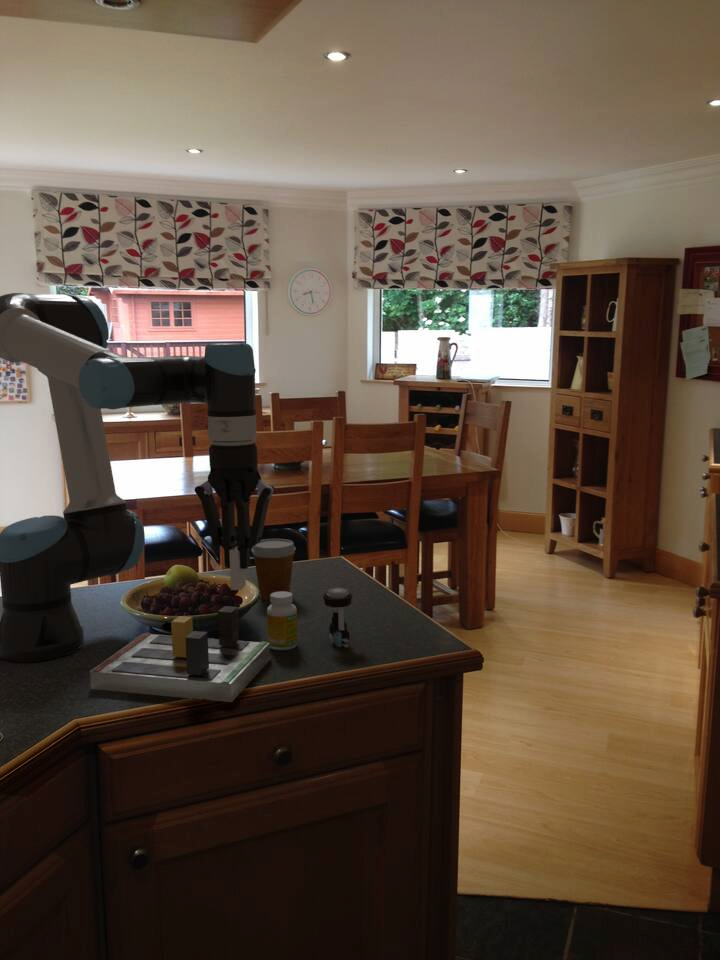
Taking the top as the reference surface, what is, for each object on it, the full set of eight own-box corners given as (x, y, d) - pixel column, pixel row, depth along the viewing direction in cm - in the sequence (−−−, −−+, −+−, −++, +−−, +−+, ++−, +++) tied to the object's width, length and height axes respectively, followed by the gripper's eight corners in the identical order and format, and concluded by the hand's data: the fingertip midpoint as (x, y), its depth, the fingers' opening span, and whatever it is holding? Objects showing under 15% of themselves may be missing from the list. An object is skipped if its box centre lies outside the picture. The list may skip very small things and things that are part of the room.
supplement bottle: (289, 652, 150) (288, 600, 149) (262, 649, 152) (261, 597, 151) (302, 642, 155) (301, 591, 154) (275, 639, 157) (274, 588, 156)
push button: (360, 647, 153) (359, 594, 151) (333, 652, 150) (332, 598, 149) (346, 636, 159) (345, 584, 157) (319, 640, 156) (318, 588, 155)
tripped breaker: (172, 656, 139) (171, 621, 138) (180, 650, 142) (179, 615, 141) (186, 657, 139) (184, 622, 138) (193, 651, 142) (192, 616, 141)
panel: (90, 689, 135) (87, 632, 134) (143, 649, 153) (141, 598, 151) (231, 702, 130) (229, 643, 128) (270, 659, 147) (268, 607, 146)
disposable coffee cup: (253, 591, 187) (251, 538, 185) (296, 589, 188) (294, 537, 186) (252, 604, 178) (250, 549, 176) (297, 602, 179) (296, 547, 177)
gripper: (184, 444, 130) (191, 592, 134) (264, 445, 128) (269, 596, 131) (203, 439, 138) (209, 579, 141) (280, 440, 135) (284, 583, 138)
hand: (238, 587), depth 136 cm, fingers closed
